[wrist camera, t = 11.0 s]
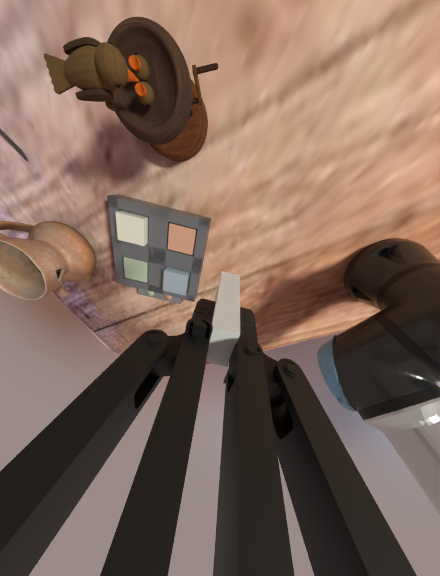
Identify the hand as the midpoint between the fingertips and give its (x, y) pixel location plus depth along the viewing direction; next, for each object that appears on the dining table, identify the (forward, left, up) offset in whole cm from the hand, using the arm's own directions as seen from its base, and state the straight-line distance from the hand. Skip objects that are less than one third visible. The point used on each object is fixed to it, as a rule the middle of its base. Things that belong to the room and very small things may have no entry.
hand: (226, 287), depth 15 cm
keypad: (+15, +10, -26) cm, 32 cm away
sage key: (+20, +15, -25) cm, 36 cm away
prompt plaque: (+15, +22, -26) cm, 38 cm away
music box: (+13, -14, -27) cm, 33 cm away
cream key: (+20, +5, -24) cm, 31 cm away
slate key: (+10, +15, -24) cm, 30 cm away
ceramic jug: (+38, +15, -27) cm, 49 cm away
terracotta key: (+10, +5, -25) cm, 28 cm away
